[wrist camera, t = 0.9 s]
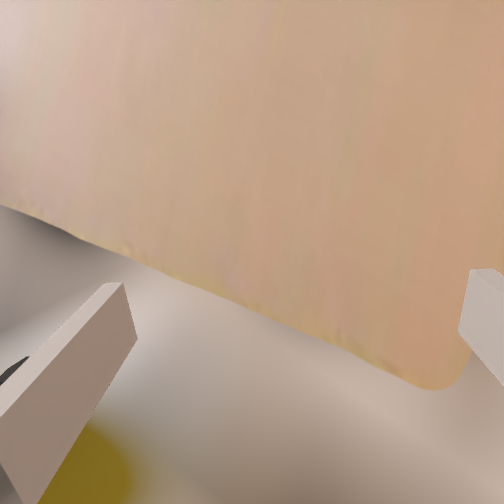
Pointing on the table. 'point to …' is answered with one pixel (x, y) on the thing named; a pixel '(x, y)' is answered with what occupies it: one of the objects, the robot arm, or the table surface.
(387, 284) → the table surface
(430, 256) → the table surface
